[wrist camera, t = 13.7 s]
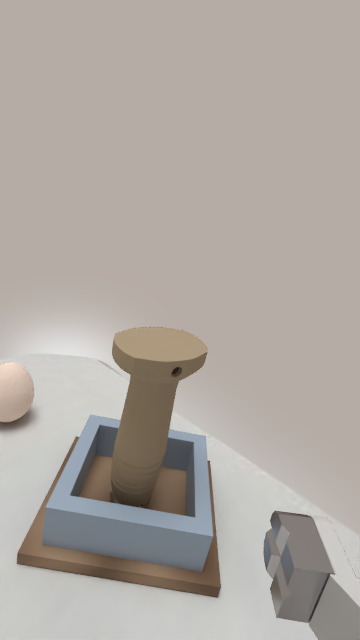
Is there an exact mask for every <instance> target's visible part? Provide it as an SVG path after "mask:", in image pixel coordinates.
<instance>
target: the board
mask: <svg viewBox="0 0 360 640" xmlns="http://www.w3.org/2000/svg"><path fill="white" fill-rule="evenodd" d="M78 439H79V437H77V436H76V438H75V440H74V442H73V444H72V446H71V448H70V450H69V452H68V454H67V456H66V458H65V460H64V462H63V464H62V466H61V468H60V470H59V472H58V474H57V476H56V478H55V480H54V482H53V484H52V486H51V488H50V490H49V492H48V494H47V496H46V498H45V500H44V502H43V504H42V506H41V508H40V510H39V512H38V514H37V516H36V518H35V520H34V521H33V523H32V525H31V527H30V529H29V531H28V533H27V535H26V537H25V539H24V541H23V543H22V545H21V547H20V549H19V551H18V555H17V563H18V564H24V565H30V566H36V567H42V568H47V569H53V570H59V571H65V572H71V573H77V574H83V575H89V576H95V577H101V578H107V579H113V580H119V581H125V582H131V583H137V584H143V585H149V586H155V587H161V588H167V589H173V590H179V591H185V592H191V593H197V594H203V595H209V596H215V597H218V594H219V591H220V588H221V584H220V573H219V561H218V549H217V538H216V526H215V514H214V503H213V491H212V479H211V468H210V461H208V474H209V488H210V501H211V514H212V527H213V539H212V542H211V545H210V548H209V551H208V554H207V557H206V561H205V564H204V567H203V570H202V572H199V571H193V570H187V569H181V568H175V567H170V566H164V565H158V564H152V563H146V562H140V561H134V560H128V559H123V558H117V557H111V556H105V555H99V554H93V553H87V552H82V551H76V550H70V549H64V548H58V547H52V546H46V545H42V540H43V529H44V518H45V507H46V505H47V503H48V501H49V499H50V497H51V495H52V493H53V491H54V489H55V487H56V485H57V482H58V480H59V478H60V476H61V474H62V472H63V470H64V468H65V466H66V464H67V462H68V460H69V458H70V456H71V454H72V452H73V450H74V448H75V445H76V443H77V441H78ZM111 467H112V458H111V457H106V456H100V455H95V456H94V459H93V461H92V464H91V467H90V469H89V472H88V474H87V477H86V480H85V482H84V485H83V487H82V490H81V492H80V495H79V497H82V498H87V499H93V500H99V501H104V502H110V503H113V502H112V501H111V500H110V487H111ZM143 508H144V509H150V510H155V511H161V512H167V513H172V514H178V515H184V516H186V471H182V470H177V469H171V468H166V467H162V468H161V471H160V474H159V477H158V480H157V483H156V485H155V487H154V490H153V492H152V496H151V498H150V501H149V503H148V504H147V505H145V506H144V507H143Z"/></svg>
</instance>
